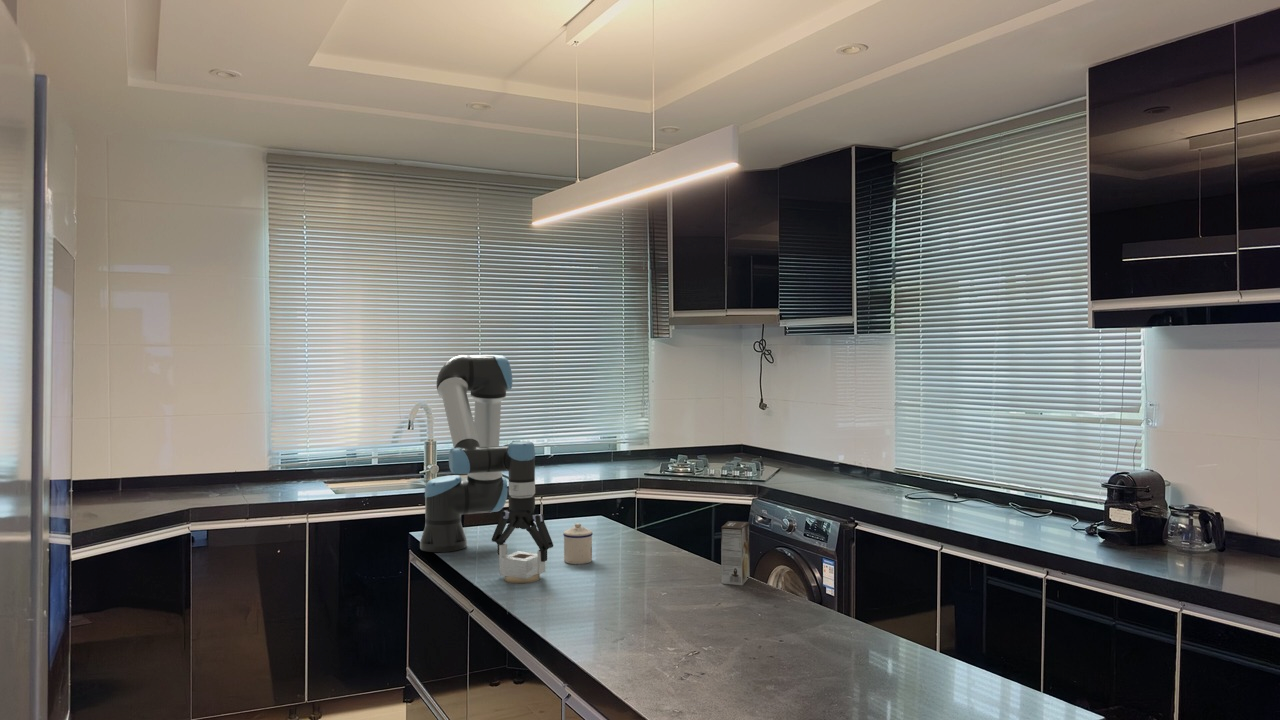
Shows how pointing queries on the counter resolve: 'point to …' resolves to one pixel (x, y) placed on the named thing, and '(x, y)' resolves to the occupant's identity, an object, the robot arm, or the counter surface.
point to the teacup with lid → (577, 545)
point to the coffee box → (735, 552)
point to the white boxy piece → (519, 565)
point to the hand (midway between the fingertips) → (522, 569)
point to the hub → (520, 580)
